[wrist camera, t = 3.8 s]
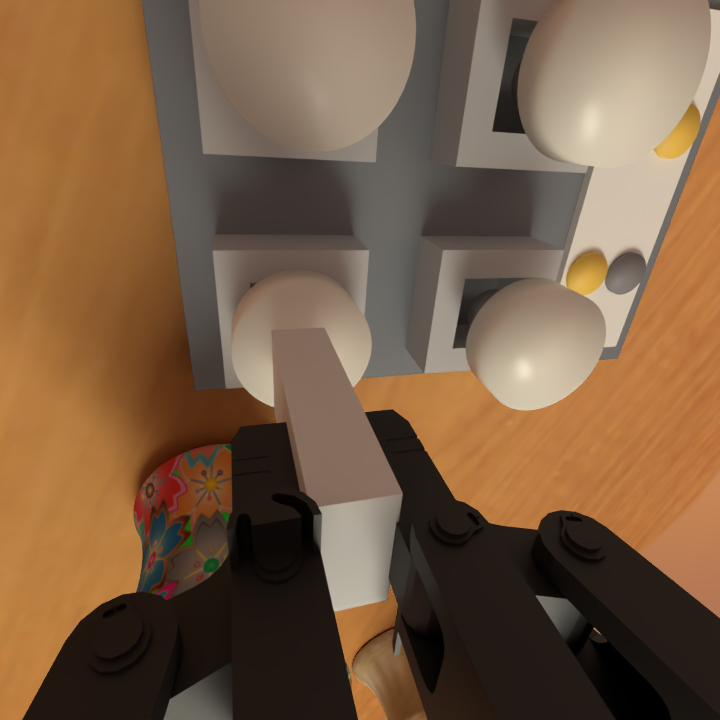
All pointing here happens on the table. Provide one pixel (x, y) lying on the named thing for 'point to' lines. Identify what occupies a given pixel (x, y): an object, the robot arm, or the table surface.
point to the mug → (185, 520)
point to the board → (407, 194)
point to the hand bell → (389, 678)
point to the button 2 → (311, 65)
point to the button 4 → (610, 77)
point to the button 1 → (295, 326)
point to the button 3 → (533, 341)
